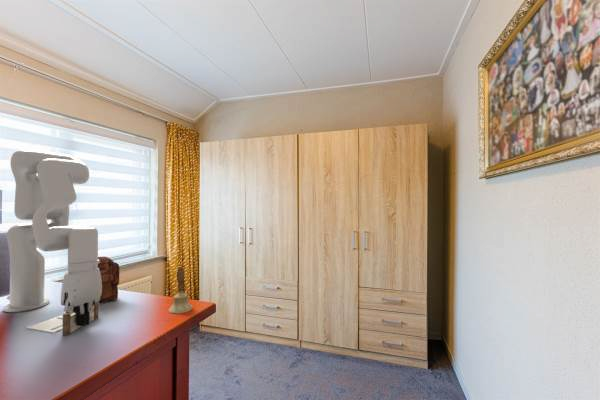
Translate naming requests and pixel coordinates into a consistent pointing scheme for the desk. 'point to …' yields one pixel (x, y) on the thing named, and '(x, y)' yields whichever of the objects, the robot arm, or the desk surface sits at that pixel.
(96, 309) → the fence fixed
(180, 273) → the hand bell
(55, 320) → the card
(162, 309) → the desk surface
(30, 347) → the desk surface
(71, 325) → the fence panel
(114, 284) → the wooden figurine
